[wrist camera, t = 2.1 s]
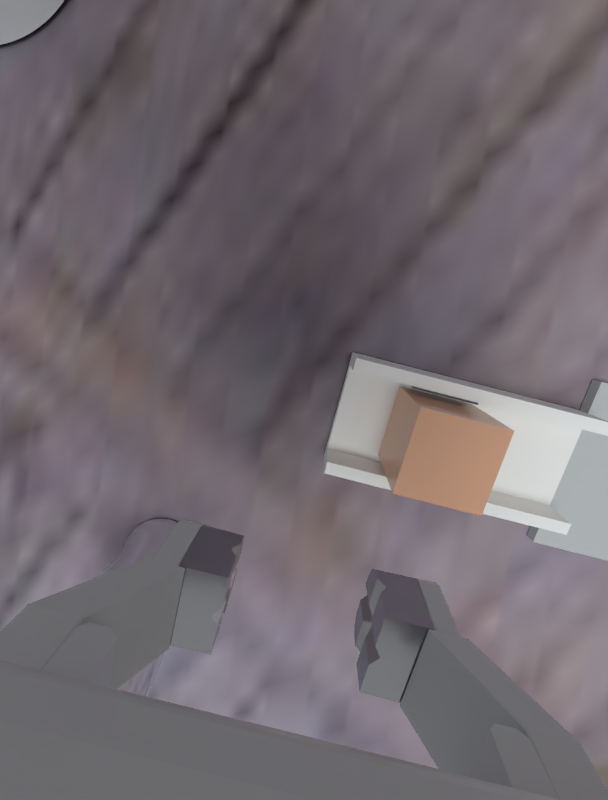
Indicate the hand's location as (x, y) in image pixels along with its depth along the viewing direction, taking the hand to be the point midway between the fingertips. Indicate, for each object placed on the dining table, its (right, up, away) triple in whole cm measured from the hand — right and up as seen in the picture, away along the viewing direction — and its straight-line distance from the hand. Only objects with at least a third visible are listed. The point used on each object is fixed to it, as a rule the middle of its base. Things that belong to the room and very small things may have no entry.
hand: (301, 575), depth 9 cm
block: (+8, +2, +18) cm, 20 cm away
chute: (+10, +2, +19) cm, 21 cm away
